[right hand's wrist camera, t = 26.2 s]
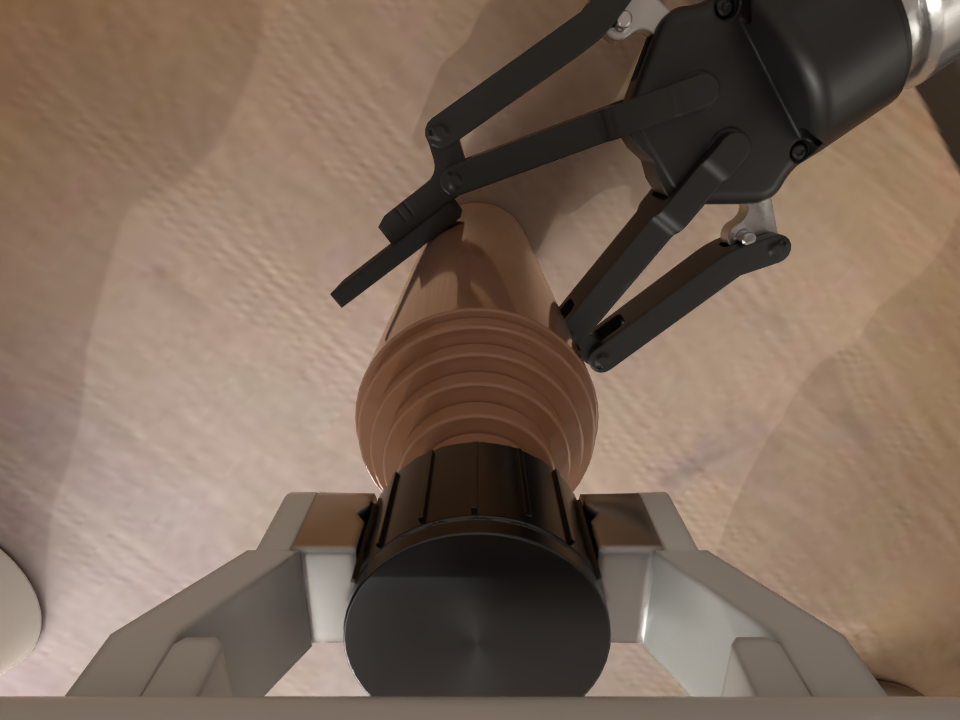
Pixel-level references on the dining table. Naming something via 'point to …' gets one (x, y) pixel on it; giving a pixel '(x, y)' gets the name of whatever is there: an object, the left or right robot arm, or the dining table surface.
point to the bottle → (477, 357)
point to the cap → (477, 582)
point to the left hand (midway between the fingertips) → (389, 347)
